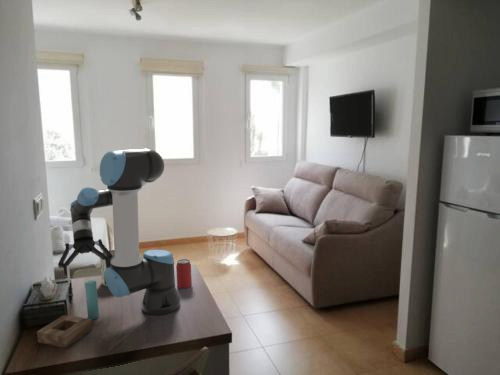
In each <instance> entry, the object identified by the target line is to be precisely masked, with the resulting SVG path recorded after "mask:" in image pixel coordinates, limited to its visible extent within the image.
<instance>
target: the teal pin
mask: <svg viewBox="0 0 500 375" xmlns="http://www.w3.org/2000/svg"><path fill="white" fill-rule="evenodd" d="M97 287H98V286H97V281H96V280H94V279H93V280H92V279H91V280H88V281H86V282H84V289H85V290H84V291H85V302H86V310H87V311H86V312H87V319H91V320H95V319H97V318H99V317H100V310H99V300H98V288H97Z"/></svg>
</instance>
